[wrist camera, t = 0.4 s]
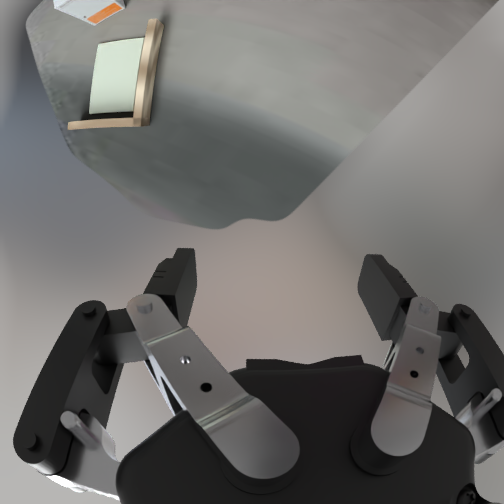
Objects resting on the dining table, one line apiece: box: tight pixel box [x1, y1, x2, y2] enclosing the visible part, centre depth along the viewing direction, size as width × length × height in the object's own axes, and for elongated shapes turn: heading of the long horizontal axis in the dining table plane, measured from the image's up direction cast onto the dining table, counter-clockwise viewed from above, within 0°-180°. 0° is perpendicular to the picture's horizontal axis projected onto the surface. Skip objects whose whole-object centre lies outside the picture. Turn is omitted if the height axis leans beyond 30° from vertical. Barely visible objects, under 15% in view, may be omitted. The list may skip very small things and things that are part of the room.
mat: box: [89, 38, 145, 114], centre depth 30 cm, size 12×8×1 cm, turn 172°
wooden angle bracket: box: [68, 19, 164, 130], centre depth 29 cm, size 16×13×4 cm
